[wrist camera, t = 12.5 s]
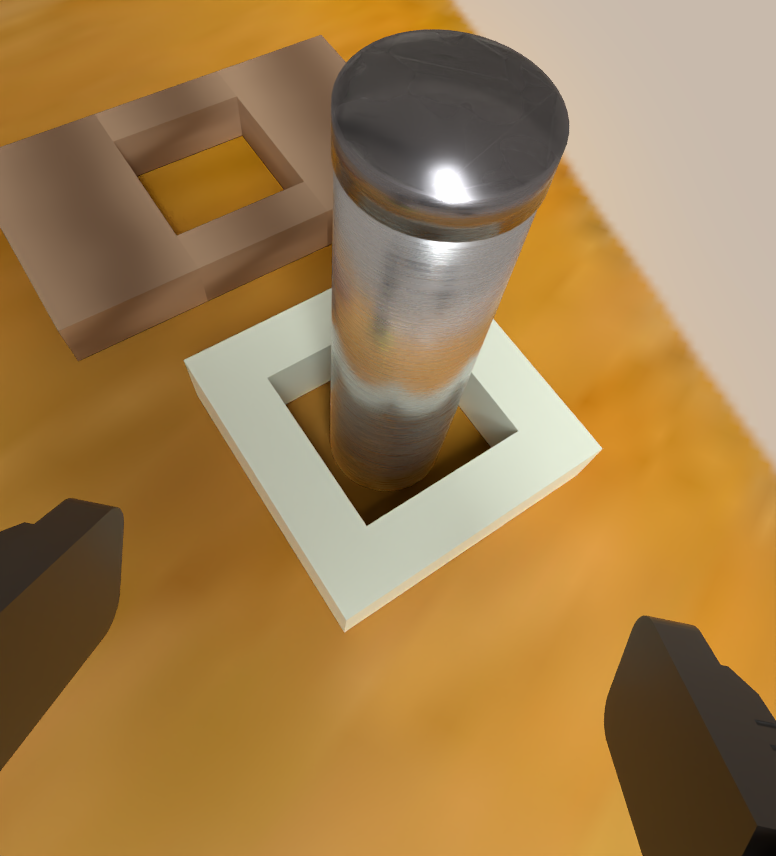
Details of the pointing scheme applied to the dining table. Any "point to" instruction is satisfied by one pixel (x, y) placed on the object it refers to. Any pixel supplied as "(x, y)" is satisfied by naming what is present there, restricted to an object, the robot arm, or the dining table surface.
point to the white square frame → (417, 517)
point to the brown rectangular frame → (138, 214)
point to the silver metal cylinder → (426, 233)
